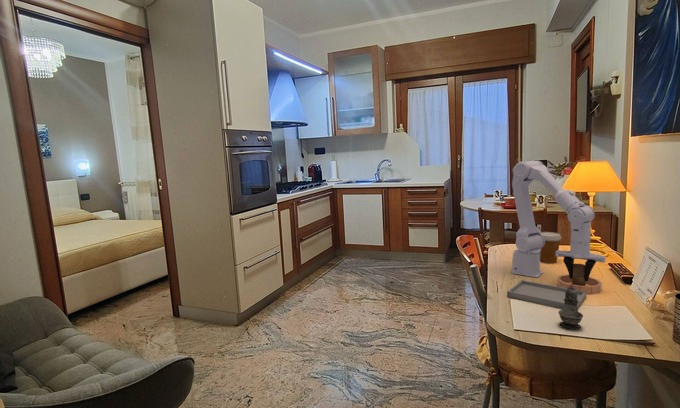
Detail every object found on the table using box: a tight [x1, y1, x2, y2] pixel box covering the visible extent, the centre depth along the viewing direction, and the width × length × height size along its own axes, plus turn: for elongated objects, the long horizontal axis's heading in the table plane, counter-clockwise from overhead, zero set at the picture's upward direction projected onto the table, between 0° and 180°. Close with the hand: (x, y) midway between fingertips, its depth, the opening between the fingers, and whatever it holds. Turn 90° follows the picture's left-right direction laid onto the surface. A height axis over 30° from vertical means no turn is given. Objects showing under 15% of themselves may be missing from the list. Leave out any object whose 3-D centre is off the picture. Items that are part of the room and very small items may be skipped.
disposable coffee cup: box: [540, 231, 562, 264], centre depth 163 cm, size 10×10×12 cm
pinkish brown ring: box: [556, 274, 603, 295], centre depth 133 cm, size 13×13×2 cm
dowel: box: [571, 263, 587, 286], centre depth 133 cm, size 4×4×8 cm
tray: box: [506, 279, 587, 311], centre depth 126 cm, size 20×14×2 cm
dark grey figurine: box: [558, 283, 584, 331], centre depth 105 cm, size 6×6×12 cm
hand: (578, 279), depth 133 cm, fingers closed on dowel, 4 cm apart
